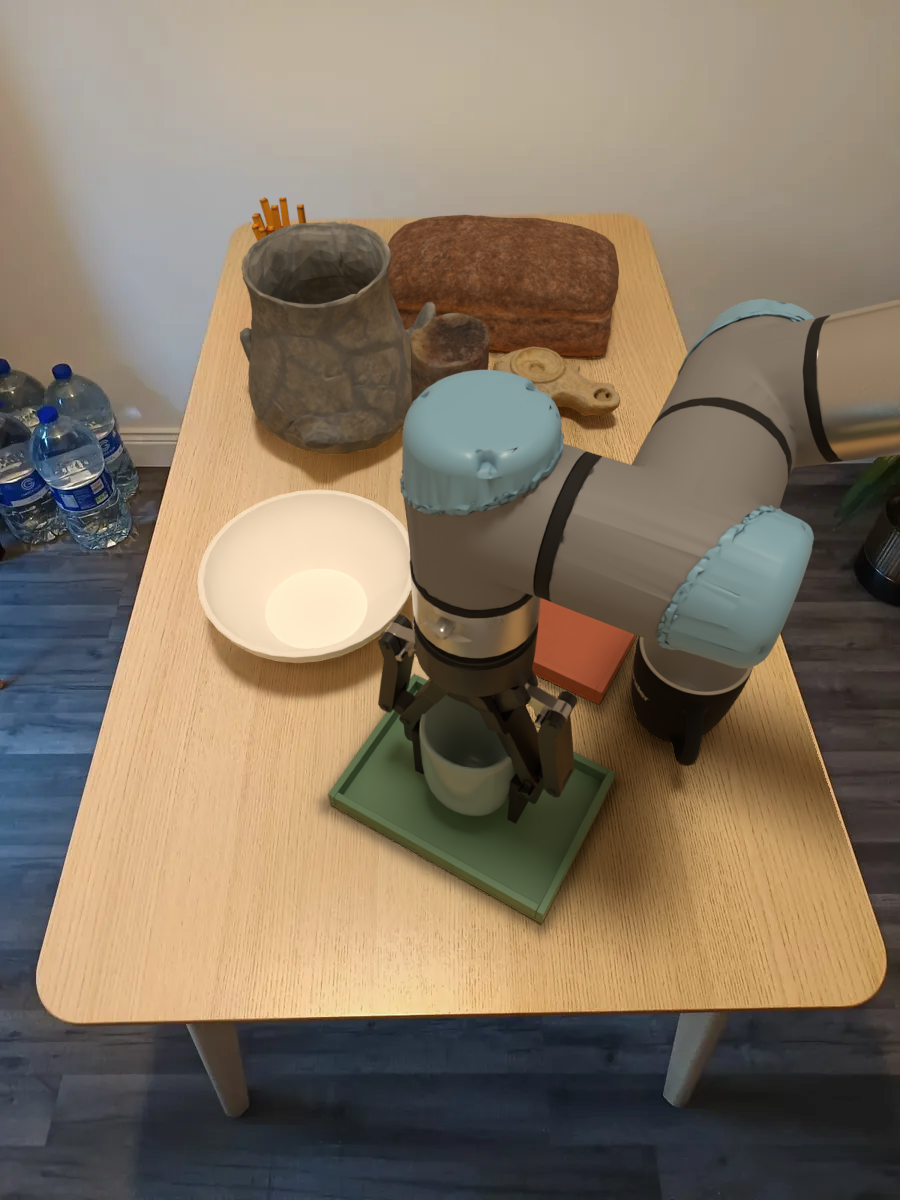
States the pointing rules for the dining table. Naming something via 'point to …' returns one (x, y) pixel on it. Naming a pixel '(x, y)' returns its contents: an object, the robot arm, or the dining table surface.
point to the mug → (682, 695)
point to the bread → (510, 279)
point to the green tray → (472, 820)
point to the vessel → (327, 338)
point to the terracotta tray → (578, 651)
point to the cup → (464, 759)
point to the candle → (447, 349)
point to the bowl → (306, 575)
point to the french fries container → (274, 217)
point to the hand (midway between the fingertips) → (472, 782)
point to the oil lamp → (560, 380)
